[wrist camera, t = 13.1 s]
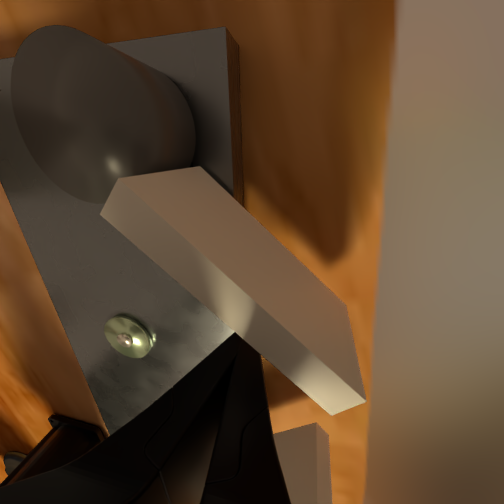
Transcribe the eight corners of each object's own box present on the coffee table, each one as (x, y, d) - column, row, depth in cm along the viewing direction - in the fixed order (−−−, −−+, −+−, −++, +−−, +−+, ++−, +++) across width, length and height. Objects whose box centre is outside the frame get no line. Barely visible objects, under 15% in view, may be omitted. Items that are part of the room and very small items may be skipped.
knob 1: (82, 139, 10) (-65, 132, 6) (123, 32, 8) (-54, -76, 4) (299, 334, 11) (291, 431, 8) (378, 284, 10) (424, 379, 6)
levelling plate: (125, 428, 23) (110, 451, 22) (-9, 75, 12) (-66, 62, 10) (252, 464, 20) (246, 494, 19) (238, 44, 9) (220, 18, 7)
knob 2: (204, 478, 20) (177, 560, 16) (167, 446, 19) (130, 524, 15) (344, 451, 14) (356, 567, 10) (299, 404, 13) (293, 510, 10)
